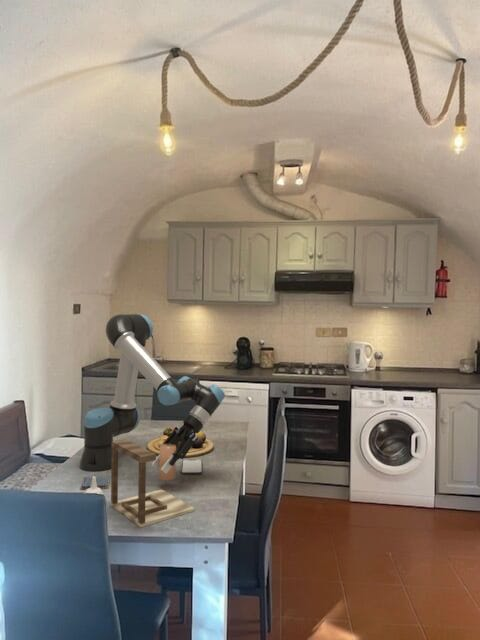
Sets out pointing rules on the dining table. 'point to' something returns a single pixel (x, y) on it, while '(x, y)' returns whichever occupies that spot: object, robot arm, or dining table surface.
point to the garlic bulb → (94, 487)
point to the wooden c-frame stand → (143, 490)
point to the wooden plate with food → (197, 449)
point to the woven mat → (99, 480)
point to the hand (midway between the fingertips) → (158, 469)
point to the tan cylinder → (165, 454)
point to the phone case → (191, 467)
